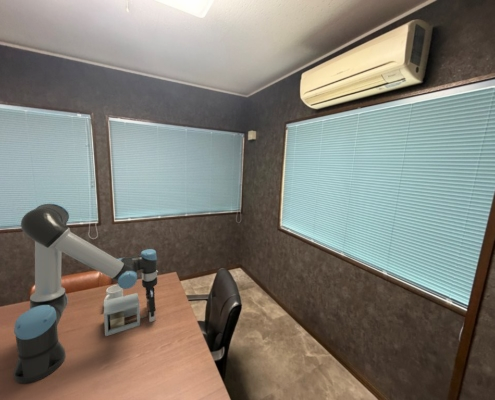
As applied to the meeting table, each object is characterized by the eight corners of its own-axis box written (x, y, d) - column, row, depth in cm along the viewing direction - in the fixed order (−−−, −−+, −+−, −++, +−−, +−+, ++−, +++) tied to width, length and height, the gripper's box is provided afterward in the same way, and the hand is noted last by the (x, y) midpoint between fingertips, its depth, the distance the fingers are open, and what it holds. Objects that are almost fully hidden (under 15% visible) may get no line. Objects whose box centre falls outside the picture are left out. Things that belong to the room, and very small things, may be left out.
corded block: (110, 331, 108) (109, 316, 106) (110, 323, 113) (109, 309, 111) (154, 317, 118) (154, 304, 117) (153, 311, 123) (152, 298, 122)
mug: (110, 314, 119) (109, 297, 117) (97, 311, 121) (96, 294, 119) (126, 301, 131) (126, 286, 129) (115, 299, 132) (114, 283, 131)
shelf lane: (105, 336, 104) (103, 313, 102) (105, 321, 114) (104, 300, 112) (140, 325, 112) (139, 304, 110) (138, 312, 122) (137, 292, 120)
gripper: (160, 286, 109) (161, 325, 113) (153, 267, 128) (154, 301, 131) (144, 290, 105) (146, 330, 109) (139, 270, 124) (141, 305, 128)
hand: (150, 314), depth 120 cm, fingers open, 10 cm apart
